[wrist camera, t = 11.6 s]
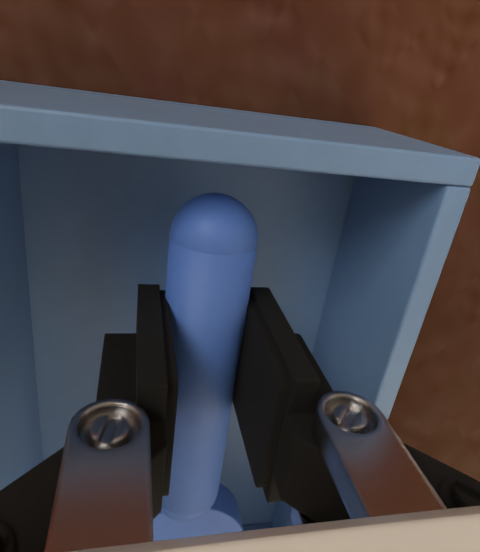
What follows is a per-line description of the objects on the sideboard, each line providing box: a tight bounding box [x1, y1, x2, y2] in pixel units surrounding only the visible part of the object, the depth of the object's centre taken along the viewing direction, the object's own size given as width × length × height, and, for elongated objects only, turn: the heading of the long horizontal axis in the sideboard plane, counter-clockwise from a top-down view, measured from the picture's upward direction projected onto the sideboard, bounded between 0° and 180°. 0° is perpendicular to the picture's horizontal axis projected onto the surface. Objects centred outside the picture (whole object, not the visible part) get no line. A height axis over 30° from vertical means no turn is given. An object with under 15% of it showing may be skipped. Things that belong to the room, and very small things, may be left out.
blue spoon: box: [153, 193, 258, 541], centre depth 12 cm, size 14×4×2 cm, turn 172°
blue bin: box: [0, 80, 480, 531], centre depth 13 cm, size 17×10×5 cm, turn 172°
